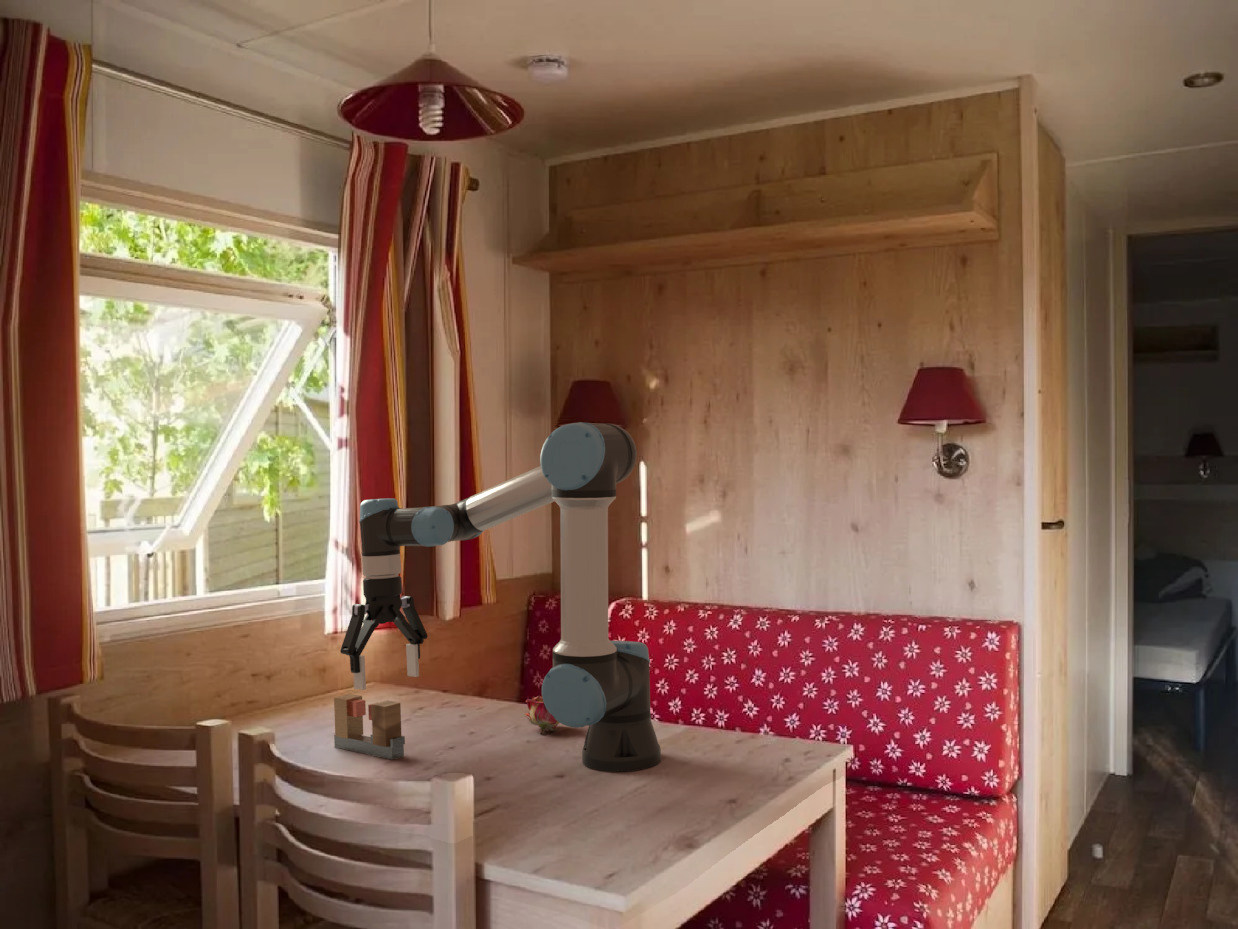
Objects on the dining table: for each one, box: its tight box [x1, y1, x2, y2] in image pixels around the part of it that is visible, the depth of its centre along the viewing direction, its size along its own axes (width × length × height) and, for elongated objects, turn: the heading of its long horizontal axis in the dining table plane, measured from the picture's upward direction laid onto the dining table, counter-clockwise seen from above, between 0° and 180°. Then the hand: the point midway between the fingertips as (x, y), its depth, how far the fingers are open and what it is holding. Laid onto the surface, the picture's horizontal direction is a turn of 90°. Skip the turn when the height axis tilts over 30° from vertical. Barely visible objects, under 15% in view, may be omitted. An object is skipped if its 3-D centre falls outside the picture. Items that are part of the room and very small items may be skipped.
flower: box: [524, 695, 560, 735], centre depth 237 cm, size 10×9×8 cm
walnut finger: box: [367, 699, 402, 747], centre depth 222 cm, size 6×4×8 cm, turn 52°
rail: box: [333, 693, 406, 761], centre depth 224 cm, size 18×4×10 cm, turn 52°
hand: (387, 682), depth 221 cm, fingers open, 13 cm apart
